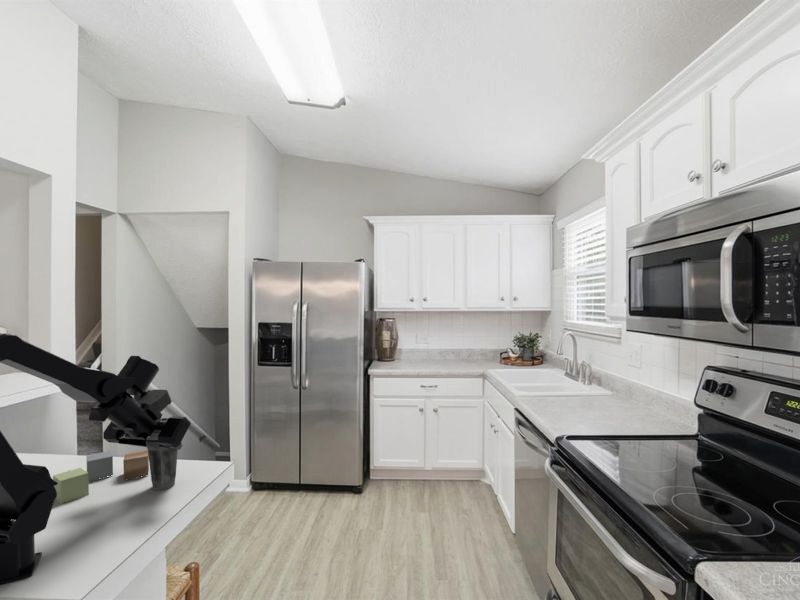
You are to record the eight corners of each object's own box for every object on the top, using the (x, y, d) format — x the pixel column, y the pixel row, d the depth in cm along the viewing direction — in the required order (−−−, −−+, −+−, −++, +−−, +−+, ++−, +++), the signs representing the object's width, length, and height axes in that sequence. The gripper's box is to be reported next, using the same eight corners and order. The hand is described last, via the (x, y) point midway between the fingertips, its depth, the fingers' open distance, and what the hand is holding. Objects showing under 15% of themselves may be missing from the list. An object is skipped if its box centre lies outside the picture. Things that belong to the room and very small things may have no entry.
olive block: (88, 495, 93) (88, 472, 93) (60, 504, 88) (60, 481, 88) (80, 489, 95) (80, 467, 95) (53, 498, 91) (52, 475, 91)
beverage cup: (188, 480, 99) (187, 397, 99) (163, 494, 92) (162, 404, 92) (164, 477, 101) (162, 395, 101) (137, 490, 94) (136, 403, 94)
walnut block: (148, 476, 102) (147, 455, 102) (123, 480, 100) (123, 460, 100) (148, 468, 106) (148, 449, 106) (125, 473, 104) (125, 453, 104)
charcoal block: (112, 476, 102) (112, 456, 102) (87, 482, 99) (87, 461, 99) (111, 470, 106) (110, 450, 106) (86, 475, 103) (86, 455, 103)
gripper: (184, 381, 90) (217, 417, 101) (113, 379, 95) (153, 414, 105) (155, 428, 83) (195, 462, 94) (80, 423, 87) (127, 456, 98)
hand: (167, 446), depth 98 cm, fingers closed on beverage cup, 7 cm apart
